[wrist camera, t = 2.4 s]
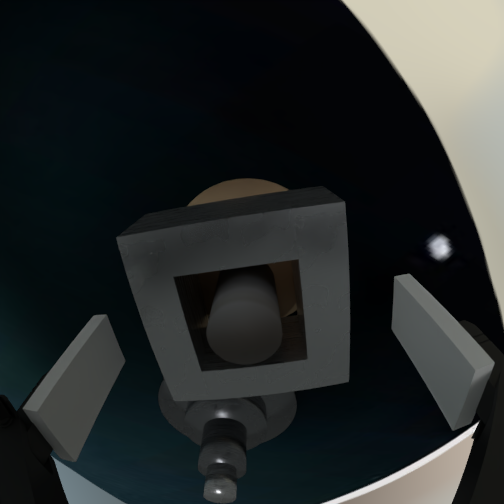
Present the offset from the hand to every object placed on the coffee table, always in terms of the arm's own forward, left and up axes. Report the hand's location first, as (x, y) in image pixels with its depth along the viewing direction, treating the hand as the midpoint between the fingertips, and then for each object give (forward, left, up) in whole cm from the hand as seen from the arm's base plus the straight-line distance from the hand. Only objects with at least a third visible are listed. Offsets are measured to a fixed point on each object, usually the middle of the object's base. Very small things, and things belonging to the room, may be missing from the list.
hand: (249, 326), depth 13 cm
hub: (+13, -4, -8) cm, 16 cm away
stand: (0, 0, -8) cm, 8 cm away
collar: (0, 0, -4) cm, 4 cm away
